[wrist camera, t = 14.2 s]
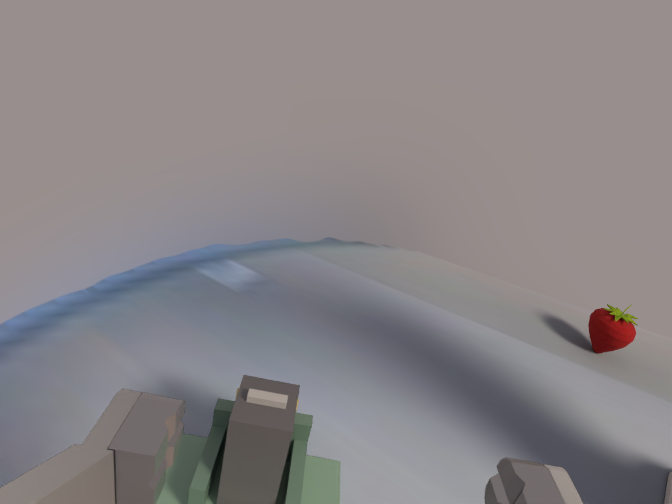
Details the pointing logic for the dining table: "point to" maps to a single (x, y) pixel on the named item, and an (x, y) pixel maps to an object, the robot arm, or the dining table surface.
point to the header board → (207, 458)
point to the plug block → (257, 441)
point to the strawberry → (610, 329)
